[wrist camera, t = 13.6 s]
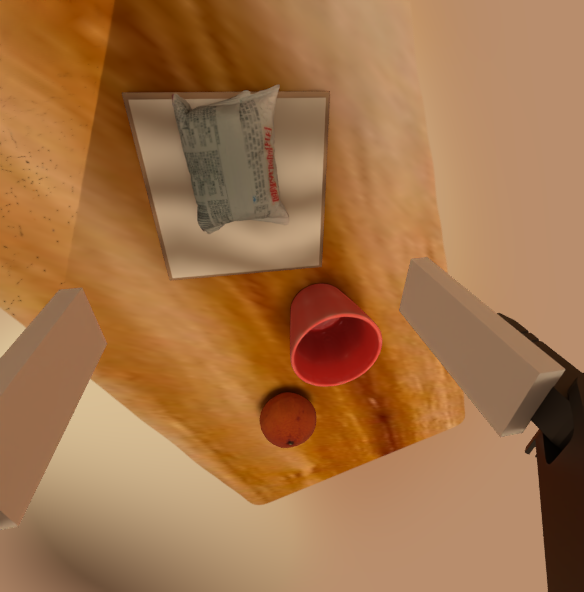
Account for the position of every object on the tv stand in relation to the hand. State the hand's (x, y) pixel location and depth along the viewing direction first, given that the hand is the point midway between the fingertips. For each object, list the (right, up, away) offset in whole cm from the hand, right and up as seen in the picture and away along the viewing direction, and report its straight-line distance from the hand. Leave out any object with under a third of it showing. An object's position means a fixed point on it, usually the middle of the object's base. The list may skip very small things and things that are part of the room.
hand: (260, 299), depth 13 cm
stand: (-4, +11, +20) cm, 23 cm away
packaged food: (-2, +11, +20) cm, 23 cm away
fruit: (0, -18, +40) cm, 43 cm away
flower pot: (+5, -1, +30) cm, 31 cm away
